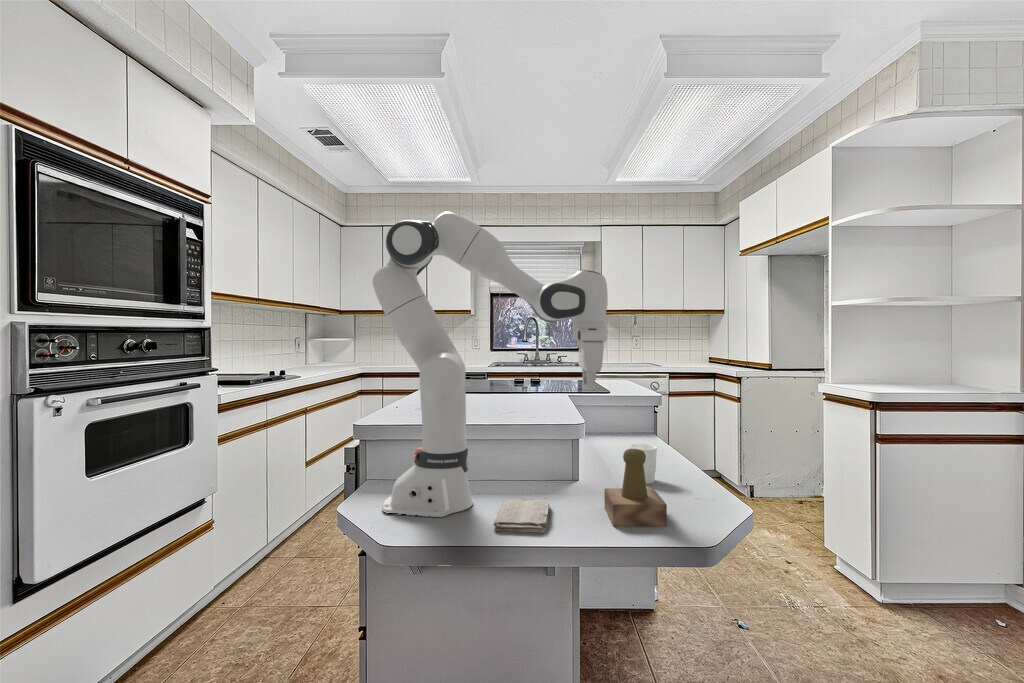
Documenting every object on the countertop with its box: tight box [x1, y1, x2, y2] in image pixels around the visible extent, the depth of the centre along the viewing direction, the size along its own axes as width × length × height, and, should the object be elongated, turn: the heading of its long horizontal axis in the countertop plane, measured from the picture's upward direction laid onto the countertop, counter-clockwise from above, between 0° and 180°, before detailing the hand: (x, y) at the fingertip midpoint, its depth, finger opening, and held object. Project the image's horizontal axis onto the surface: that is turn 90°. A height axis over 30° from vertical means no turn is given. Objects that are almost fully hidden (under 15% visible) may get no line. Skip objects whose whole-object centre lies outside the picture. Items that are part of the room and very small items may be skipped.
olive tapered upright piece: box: [621, 448, 648, 500], centre depth 125 cm, size 6×6×11 cm
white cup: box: [628, 443, 658, 485], centre depth 155 cm, size 8×8×10 cm
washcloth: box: [493, 499, 550, 535], centre depth 125 cm, size 12×18×3 cm, turn 174°
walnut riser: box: [604, 487, 668, 528], centre depth 125 cm, size 12×12×5 cm
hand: (588, 387), depth 138 cm, fingers open, 8 cm apart
